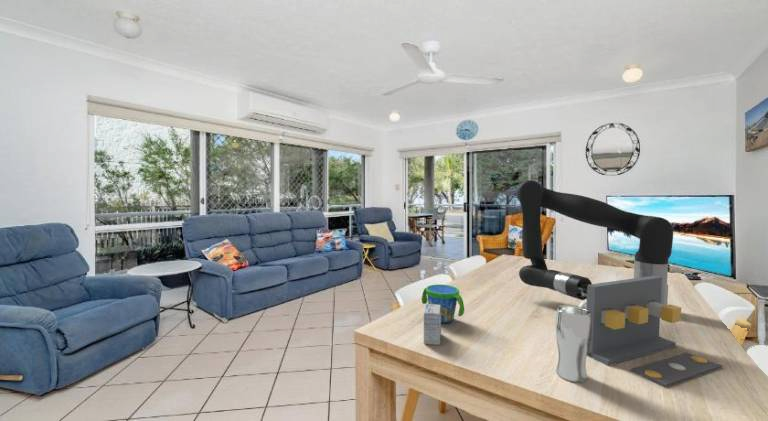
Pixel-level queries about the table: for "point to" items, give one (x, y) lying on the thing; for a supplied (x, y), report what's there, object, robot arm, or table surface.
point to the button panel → (634, 337)
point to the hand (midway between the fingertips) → (625, 300)
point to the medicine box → (432, 324)
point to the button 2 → (664, 311)
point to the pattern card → (675, 369)
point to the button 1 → (609, 317)
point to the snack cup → (444, 300)
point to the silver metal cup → (573, 342)
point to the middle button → (636, 314)
